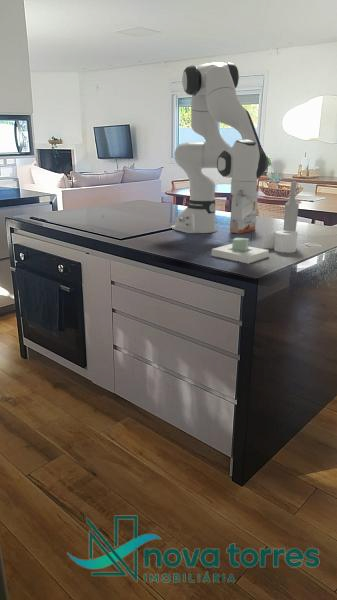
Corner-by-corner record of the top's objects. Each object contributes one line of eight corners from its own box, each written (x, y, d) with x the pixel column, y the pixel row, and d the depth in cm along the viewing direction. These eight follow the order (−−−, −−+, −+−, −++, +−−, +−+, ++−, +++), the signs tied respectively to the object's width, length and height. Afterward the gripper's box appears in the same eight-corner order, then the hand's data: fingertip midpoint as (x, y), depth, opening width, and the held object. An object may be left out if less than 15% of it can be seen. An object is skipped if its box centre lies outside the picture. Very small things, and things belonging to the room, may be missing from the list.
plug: (231, 255, 162) (232, 239, 160) (234, 253, 166) (235, 237, 164) (245, 257, 160) (246, 240, 158) (248, 254, 164) (249, 238, 162)
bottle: (289, 247, 176) (295, 182, 168) (278, 245, 180) (284, 181, 172) (297, 245, 179) (304, 181, 171) (287, 243, 183) (293, 180, 175)
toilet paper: (263, 248, 175) (264, 231, 173) (290, 247, 177) (291, 230, 175) (271, 253, 167) (273, 235, 165) (299, 252, 170) (301, 234, 167)
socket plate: (211, 255, 164) (211, 249, 163) (232, 249, 173) (232, 243, 172) (248, 263, 153) (248, 256, 153) (268, 256, 162) (268, 250, 161)
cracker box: (240, 234, 200) (243, 186, 193) (229, 232, 204) (231, 185, 197) (256, 230, 210) (259, 184, 203) (245, 228, 214) (247, 183, 207)
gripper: (246, 192, 145) (244, 234, 149) (257, 186, 163) (255, 224, 167) (227, 191, 147) (225, 233, 151) (240, 186, 165) (238, 223, 169)
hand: (241, 228), depth 159 cm, fingers closed
